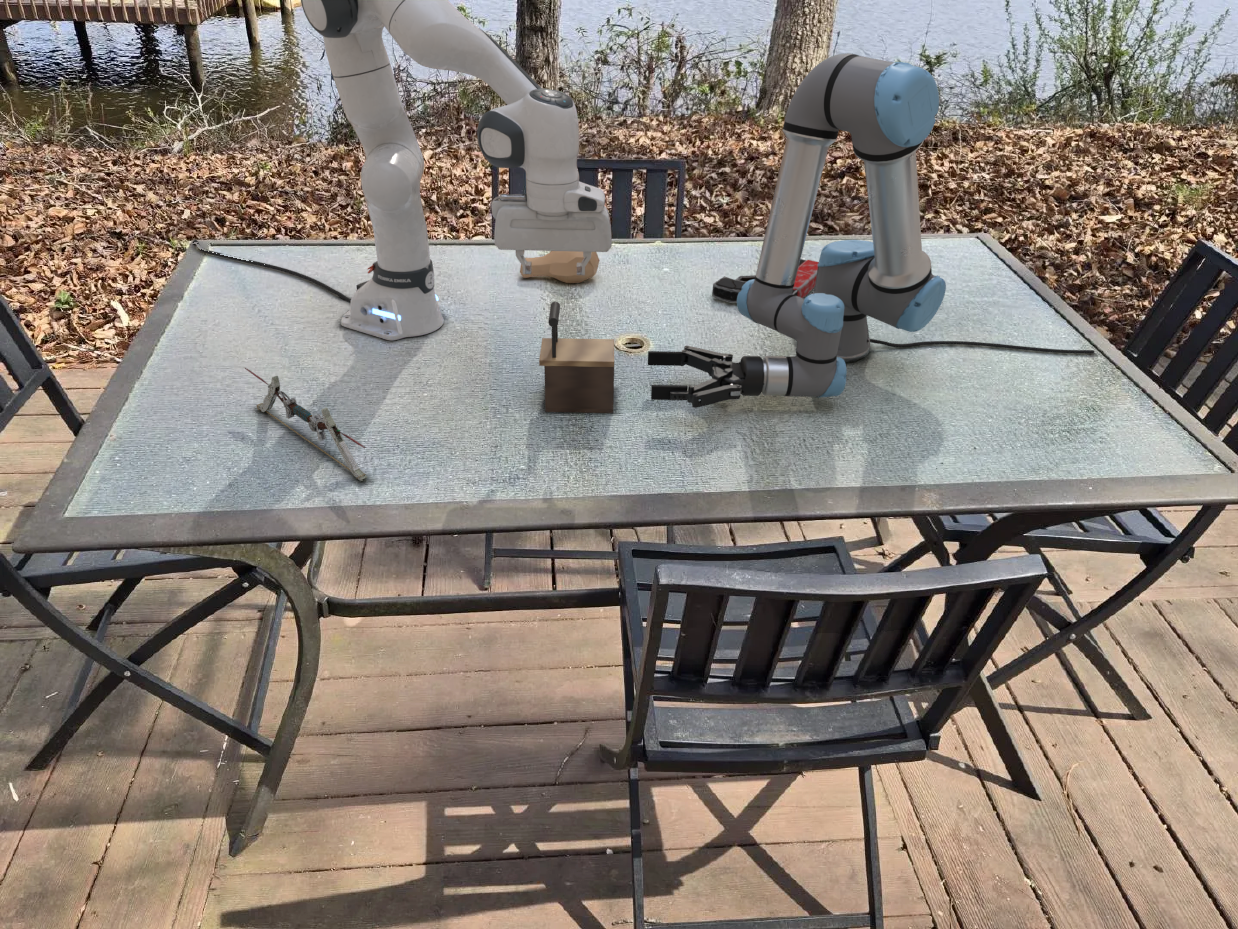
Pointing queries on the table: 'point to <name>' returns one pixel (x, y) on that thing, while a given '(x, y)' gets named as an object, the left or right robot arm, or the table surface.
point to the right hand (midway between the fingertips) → (649, 374)
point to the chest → (579, 389)
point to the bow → (311, 423)
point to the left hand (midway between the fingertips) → (554, 273)
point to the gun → (731, 287)
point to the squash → (562, 266)
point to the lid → (574, 348)
